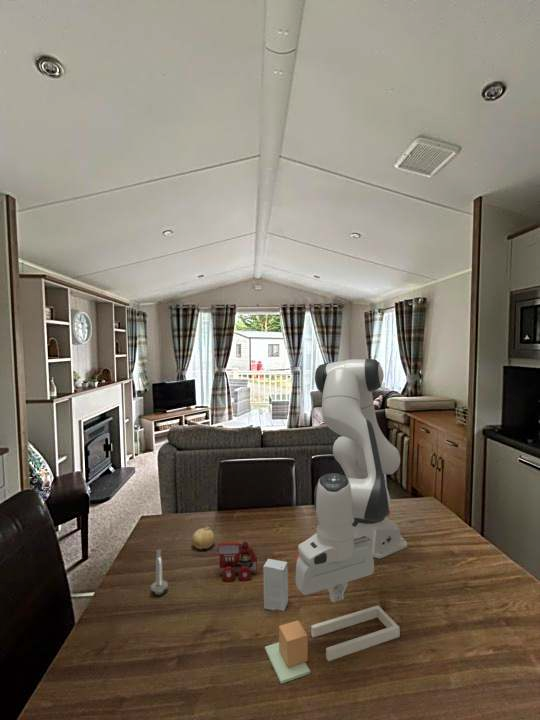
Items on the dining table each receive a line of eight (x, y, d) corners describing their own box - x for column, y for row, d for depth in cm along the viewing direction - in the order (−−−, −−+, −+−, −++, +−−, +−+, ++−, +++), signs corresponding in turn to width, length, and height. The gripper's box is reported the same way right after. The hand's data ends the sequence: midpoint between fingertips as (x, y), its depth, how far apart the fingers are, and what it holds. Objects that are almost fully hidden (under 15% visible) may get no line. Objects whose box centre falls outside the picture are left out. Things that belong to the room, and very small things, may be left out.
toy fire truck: (257, 580, 116) (256, 547, 116) (217, 582, 115) (216, 549, 115) (257, 567, 123) (256, 536, 123) (219, 569, 122) (218, 537, 122)
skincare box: (288, 603, 105) (288, 561, 105) (284, 613, 101) (283, 570, 101) (268, 598, 107) (267, 557, 107) (263, 608, 103) (262, 566, 103)
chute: (378, 616, 100) (378, 605, 100) (399, 639, 92) (399, 627, 92) (311, 637, 93) (311, 625, 93) (328, 664, 85) (328, 651, 85)
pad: (302, 637, 93) (302, 634, 93) (322, 669, 84) (322, 666, 84) (264, 649, 89) (264, 646, 89) (280, 683, 80) (280, 681, 80)
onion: (207, 554, 131) (207, 534, 131) (188, 550, 134) (187, 530, 134) (218, 543, 139) (218, 524, 139) (199, 539, 141) (199, 521, 141)
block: (298, 644, 90) (298, 620, 90) (307, 660, 85) (307, 635, 85) (279, 650, 88) (278, 625, 88) (287, 667, 83) (287, 641, 83)
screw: (148, 592, 111) (162, 585, 114) (155, 600, 107) (171, 592, 111) (147, 549, 110) (162, 543, 114) (155, 555, 107) (170, 549, 110)
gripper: (363, 528, 96) (364, 580, 97) (291, 547, 89) (293, 602, 90) (379, 540, 91) (380, 595, 91) (303, 561, 83) (305, 621, 84)
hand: (336, 599), depth 91 cm, fingers closed
